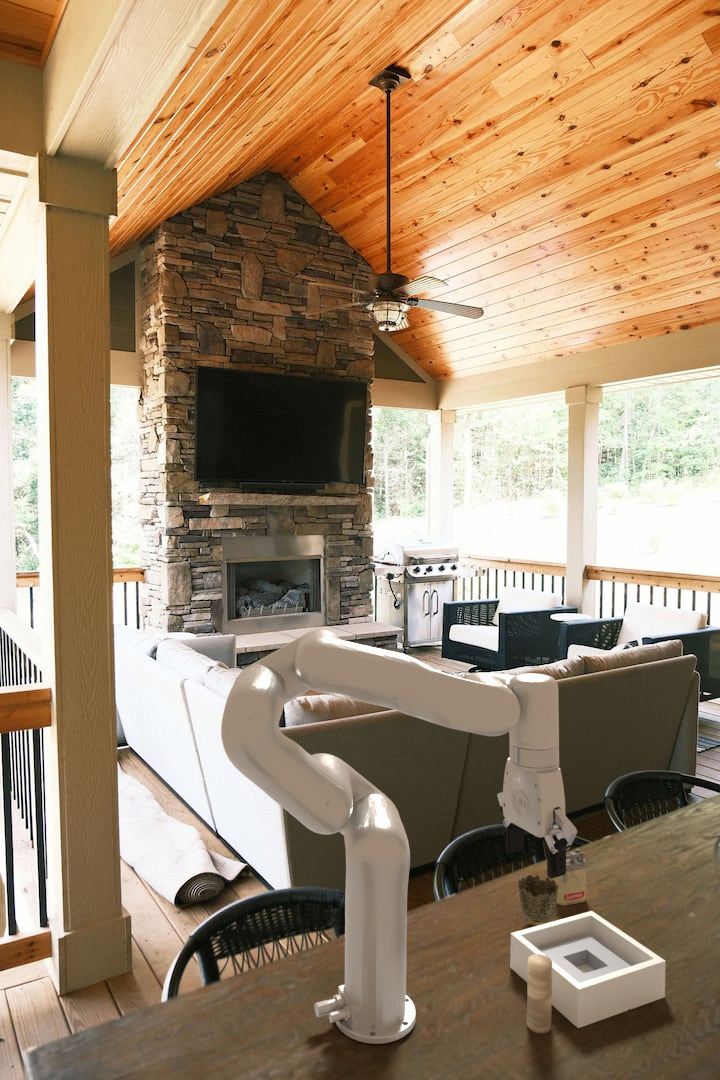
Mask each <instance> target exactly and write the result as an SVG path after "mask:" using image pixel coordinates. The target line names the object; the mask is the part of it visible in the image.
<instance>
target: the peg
mask: <svg viewBox="0 0 720 1080" xmlns="http://www.w3.org/2000/svg"><path fill="white" fill-rule="evenodd" d="M526 989H527V991H526V992H527V994H526V995H527V999H526V1001H527V1002H526V1026H527V1028H528V1029H529V1030H530V1031H532V1032H533V1033H536V1034H547V1033H549V1032H551V1030H552V1006H553V1005H552V960H551V959H550V958H549V957H547V956H545V955H541V954H534V955H531V956H529V958H528V983H527V987H526Z"/></svg>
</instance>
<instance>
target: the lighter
mask: <svg viewBox="0 0 720 1080" xmlns="http://www.w3.org/2000/svg"><path fill="white" fill-rule="evenodd" d="M584 857H585V853H584V852H582V851H581V849H580V848H575V850H572V851H571V850H570V851H566V874H565V875H562V876H559V877H556V878H553V880H555V882H556V886H557V885H558V894H557V902H556V905H559V906H570V905H574V904H575V905H576V904H579V903H584V902H586V900H587V860H586V859H585V858H584Z"/></svg>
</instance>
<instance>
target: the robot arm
mask: <svg viewBox="0 0 720 1080" xmlns="http://www.w3.org/2000/svg"><path fill="white" fill-rule="evenodd" d="M309 691H313V692H315V693H318V694H319V693H320V694H323V695H328V696H333V697H337V698H341V699H347V700H351V701H356V702H361V703H364V704H370V705H373V706H378V707H382V708H388V709H391V710H395V711H396V712H399V713H402V714H404V715H406V716H411V717H413V718H418V719H420V720H423V721H426V722H430V723H432V724H435V725H439V726H442V727H445V728H448V729H451V730H452V729H453V730H457V731H459V732H460V731H462V732H466V733H471V734H476V735H480V736H487V737H499V736H503V735H505V734H507V733H508V734H509V757H508V758H507V759H506V764H505V769H504V777H503V787H502V791H501V792H498V793H497V795H496V796H497V800H498V803H499V806H500V808H499V809H500V810H499V811H500V813H501V815H502V817H503V823H502V824H503V825H504V827H505V843H506V844H505V846H506V847H505V849H506V850H505V851H506V853H509V854H513V853H516V852H519V851H520V852H521V851H522V850H524V849H525V832H527V833H529V834H531V835H533V836H534V837H536V838H544V839H545V842H546V843H547V846H548V848H549V851H547V854H546V860H547V861H546V865H547V866H546V869H547V870H546V873H547V874H546V875H547V877H549V878H550V880H551V879H553V880H554V878H556V877H559V876H562V875H565V874H566V855H567V854H566V852H567V851H568V850H569V849H570V848H571V846H572V845H574V841H575V838H576V836H577V834H578V830H577V828H576V826H575V825H574V824H573V823H572V821H571V820H570V819H569V818H568V817H567V815H566V798H565V797H566V796H565V788H564V782H563V776H562V775H563V774H562V770H561V768H560V737H559V736H560V728H559V727H560V721H559V719H560V716H559V713H560V712H559V706H560V705H559V685H558V681H557V680H556V679H555V678H554V677H553V676H551V675H547V674H544V673H532V672H528V673H521V674H519V673H518V674H516V675H515V674H514V675H511V674H501V673H492V672H482V671H481V672H474V673H471V674H469V675H466V676H465V677H464V678H463V677H458V676H455V675H452V674H449V673H446V672H442V671H440V670H437V669H436V668H433V667H430V666H429V665H427V664H425V663H423V662H421V661H419V660H418V659H416V658H415V657H413V656H411V655H408V654H405V653H402V652H398V651H393V650H389V649H384V648H379V647H374V646H370V645H366V644H361V643H357V642H353V641H348V640H344V639H341V638H340V637H339V636H338V635H337V634H336V633H335V632H333V631H330V630H327V629H316V630H311V631H309V632H307V633H304V634H303V635H301V636H299V637H298V638H296V639H294V640H292V641H290V642H289V643H288V644H286V645H284V646H283V647H280V648H279V649H277V650H275V651H273V652H271V653H269V654H268V655H266V656H264V657H262V658H261V659H259V660H257V661H255V662H253V663H252V664H250V665H248V666H247V667H246V668H244V669H242V671H241V672H240V673H239V674H238V676H236V678H235V680H234V682H233V684H232V687H231V688H230V690H229V693H228V696H227V699H226V702H225V705H224V709H223V714H222V719H221V726H220V727H221V729H220V735H221V738H220V739H221V742H222V746H223V749H224V752H225V755H226V756H227V758H228V760H229V761H230V763H231V764H232V765H233V766H234V767H235V769H236V770H237V771H239V772H240V774H242V775H243V776H244V777H245V778H247V779H248V780H249V781H250V782H251V783H253V784H254V785H255V786H257V787H258V788H259V789H260V790H262V791H263V792H264V793H265V794H266V795H267V796H268V797H269V798H271V799H272V800H273V801H274V802H275V803H277V804H278V805H279V806H280V807H282V808H283V809H284V810H285V811H286V812H288V813H289V814H290V815H291V816H293V817H294V818H295V819H296V820H297V821H298V822H299V823H301V824H302V825H303V826H304V827H305V828H306V829H308V830H309V831H311V832H313V833H316V834H319V835H328V836H330V835H334V834H337V833H340V835H342V836H344V837H343V838H344V847H345V848H344V849H345V866H346V867H345V896H344V897H345V899H344V900H345V901H344V918H345V919H344V923H345V924H344V984H341V985H339V986H338V991H337V992H338V994H337V993H336V994H334V995H333V997H332V998H331V999H324V1000H321V1001H318V1002H314V1005H313V1007H314V1014H315V1016H316V1017H317V1018H320V1017H325V1016H327V1015H328V1020H329V1023H330V1024H333V1023H335V1024H336V1026H337V1028H338V1029H339V1030H340V1032H342V1033H343V1034H344V1035H345V1036H347V1037H348V1038H350V1039H352V1040H355V1041H357V1042H360V1043H364V1044H369V1045H370V1044H372V1045H381V1044H382V1045H383V1044H388V1043H392V1042H395V1041H398V1040H401V1039H402V1038H405V1036H406V1035H408V1034H409V1033H410V1032H412V1030H413V1028H414V1027H415V1024H416V1020H417V1019H416V1018H417V1016H416V1015H417V1011H416V1010H417V1009H416V1005H415V1004H414V1002H413V1000H411V998H410V997H409V996H408V995H407V951H408V950H407V943H408V942H407V938H408V935H407V934H408V933H407V932H408V929H407V928H408V912H407V911H408V888H409V887H408V886H409V885H408V884H409V878H410V877H409V875H410V868H411V867H410V866H411V853H410V852H411V851H410V846H409V840H408V836H407V833H406V830H405V827H404V824H403V822H402V819H401V817H400V813H399V810H398V808H397V807H396V805H395V803H394V802H393V801H392V800H391V799H390V798H389V797H388V796H387V795H386V794H385V793H384V792H382V791H381V790H380V789H379V788H377V786H375V785H374V784H373V783H371V782H370V781H369V780H367V778H365V777H364V776H362V775H361V774H360V773H359V772H357V771H356V770H355V769H354V768H353V767H352V766H350V765H349V764H348V763H347V762H345V761H344V760H342V759H341V758H340V757H337V756H335V755H332V754H330V753H325V752H324V753H321V752H320V753H314V754H310V753H309V752H308V751H306V750H305V749H304V748H303V747H302V746H301V745H299V744H298V743H297V742H296V741H294V740H293V739H291V738H289V737H288V736H286V735H285V734H284V733H282V731H281V729H280V720H281V717H282V714H283V711H284V706H285V705H286V704H288V703H290V702H291V701H293V700H295V699H296V698H299V697H301V696H302V695H303V694H305V693H307V692H309ZM554 836H556V838H557V840H558V841H555V839H554V838H553V837H554Z"/></svg>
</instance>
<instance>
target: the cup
mask: <svg viewBox="0 0 720 1080" xmlns="http://www.w3.org/2000/svg"><path fill="white" fill-rule="evenodd" d="M517 882H518V892H519V903H520V907H521V910H522V912H523V914H524V915H525V916H526V917H527V922H528V924H529V926H531V927H535V926H538V925H542V924H546V923H549V922H548V921H549V920H550V919H551V918H553V915H554V914H555V912H556V907H557V903H556V902H557V894H558V885H557V886H556V882H555V880H554V879H553V880H551V878H549V877H548V876H547V877H545V879H544V880H543V879H540V875H535V877H534V876H533V875H531V874H528V875H527V876H526V877H524V876H522V878H521V879H519V880H518V881H517Z"/></svg>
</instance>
